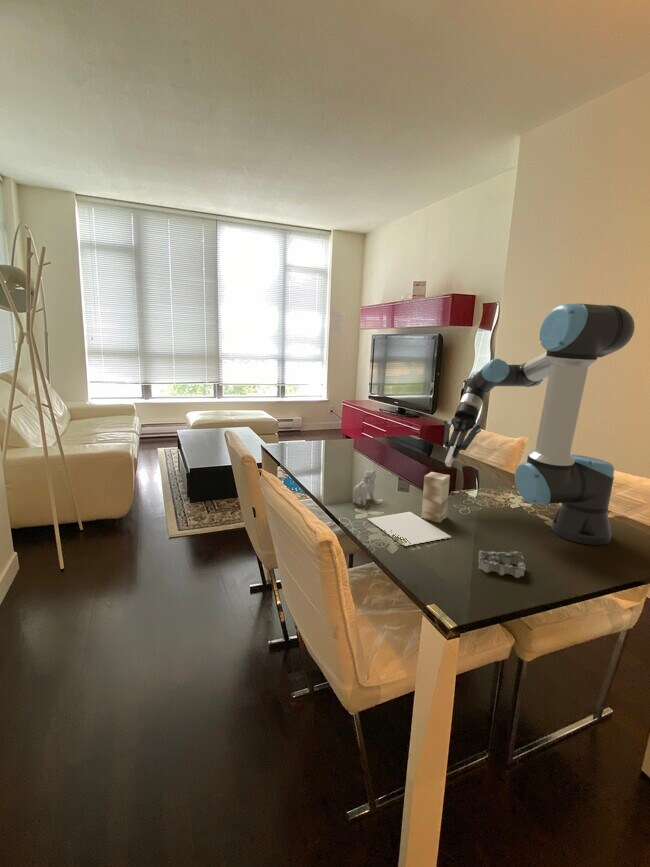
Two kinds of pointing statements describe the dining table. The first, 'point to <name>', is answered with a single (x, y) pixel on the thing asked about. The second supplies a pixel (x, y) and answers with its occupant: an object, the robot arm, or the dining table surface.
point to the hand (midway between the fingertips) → (447, 464)
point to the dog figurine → (365, 486)
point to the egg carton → (505, 558)
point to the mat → (409, 528)
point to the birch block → (435, 496)
